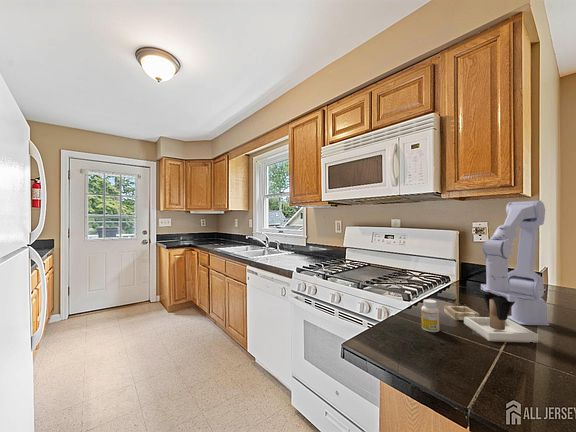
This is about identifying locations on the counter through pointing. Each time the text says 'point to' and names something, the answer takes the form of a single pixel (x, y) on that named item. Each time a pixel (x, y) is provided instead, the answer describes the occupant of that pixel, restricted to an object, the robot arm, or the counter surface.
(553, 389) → the counter surface
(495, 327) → the wooden dowel
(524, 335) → the tray
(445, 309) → the collar
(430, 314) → the supplement bottle
